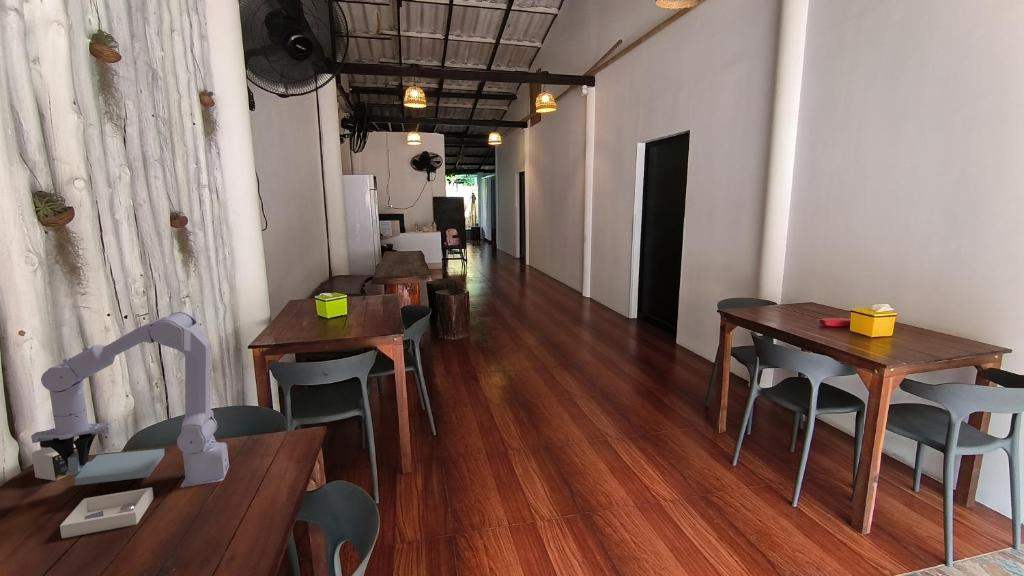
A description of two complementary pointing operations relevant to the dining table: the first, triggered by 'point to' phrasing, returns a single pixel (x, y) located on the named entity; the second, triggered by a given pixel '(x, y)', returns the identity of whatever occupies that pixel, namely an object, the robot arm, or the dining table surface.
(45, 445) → the medicine bottle
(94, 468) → the lid
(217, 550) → the dining table surface
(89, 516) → the rubber block
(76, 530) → the tub
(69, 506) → the dining table surface
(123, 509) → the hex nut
